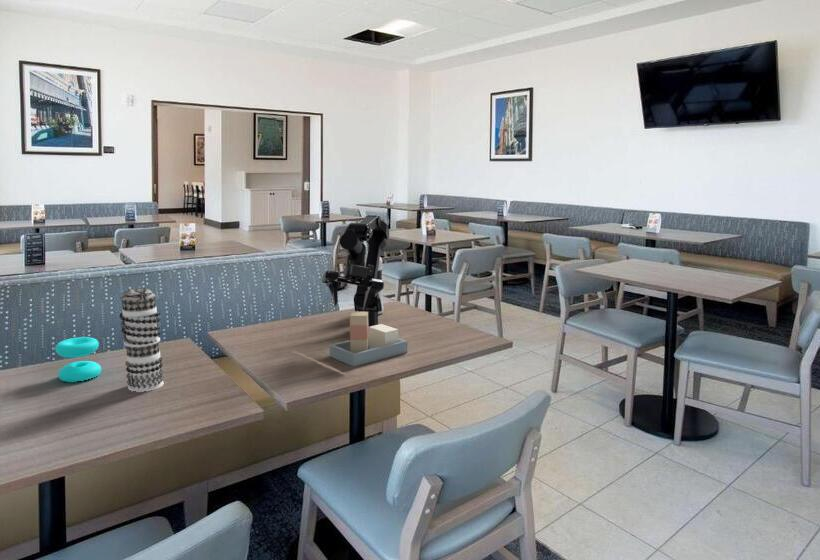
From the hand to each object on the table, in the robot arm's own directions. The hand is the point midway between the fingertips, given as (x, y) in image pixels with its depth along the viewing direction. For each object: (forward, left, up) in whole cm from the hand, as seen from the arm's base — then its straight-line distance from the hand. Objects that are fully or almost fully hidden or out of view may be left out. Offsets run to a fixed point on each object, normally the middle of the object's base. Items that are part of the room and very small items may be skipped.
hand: (350, 308), depth 180 cm
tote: (+1, +11, -12) cm, 17 cm away
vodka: (-32, -30, -13) cm, 46 cm away
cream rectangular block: (-4, +11, -12) cm, 17 cm away
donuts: (+70, -25, -13) cm, 76 cm away
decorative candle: (+59, -7, -13) cm, 61 cm away
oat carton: (+5, +11, -12) cm, 17 cm away
